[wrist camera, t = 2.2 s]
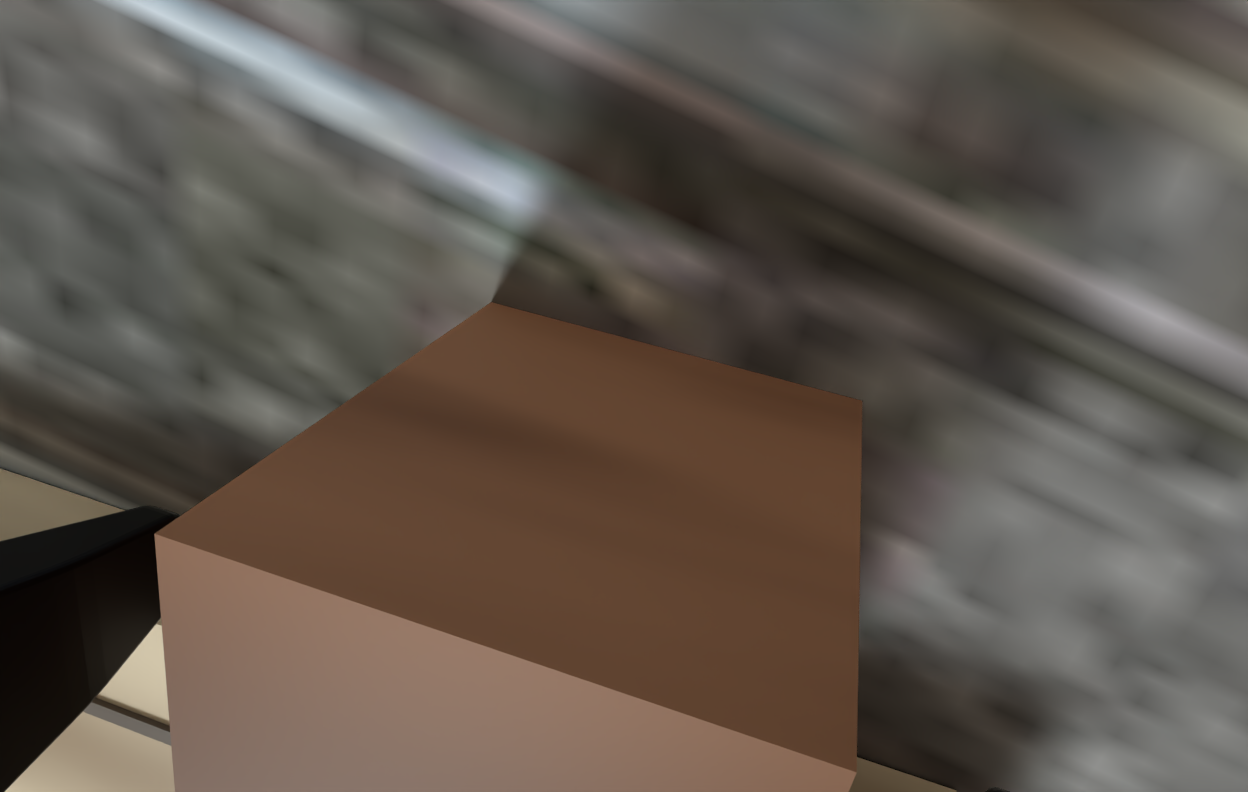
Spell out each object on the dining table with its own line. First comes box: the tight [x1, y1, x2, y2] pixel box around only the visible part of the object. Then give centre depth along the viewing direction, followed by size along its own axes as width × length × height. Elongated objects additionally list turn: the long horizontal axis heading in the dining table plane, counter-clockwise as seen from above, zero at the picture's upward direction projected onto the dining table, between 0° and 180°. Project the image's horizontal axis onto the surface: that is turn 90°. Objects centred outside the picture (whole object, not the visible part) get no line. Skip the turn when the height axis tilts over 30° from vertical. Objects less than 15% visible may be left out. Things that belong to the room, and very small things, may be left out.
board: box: [0, 469, 957, 792], centre depth 15 cm, size 8×25×2 cm, turn 80°
